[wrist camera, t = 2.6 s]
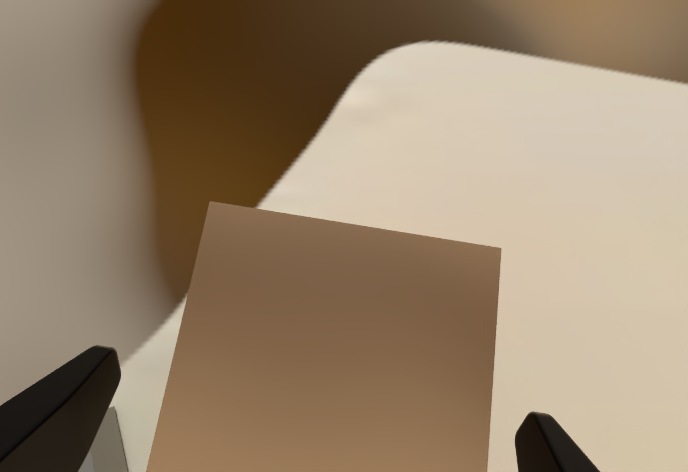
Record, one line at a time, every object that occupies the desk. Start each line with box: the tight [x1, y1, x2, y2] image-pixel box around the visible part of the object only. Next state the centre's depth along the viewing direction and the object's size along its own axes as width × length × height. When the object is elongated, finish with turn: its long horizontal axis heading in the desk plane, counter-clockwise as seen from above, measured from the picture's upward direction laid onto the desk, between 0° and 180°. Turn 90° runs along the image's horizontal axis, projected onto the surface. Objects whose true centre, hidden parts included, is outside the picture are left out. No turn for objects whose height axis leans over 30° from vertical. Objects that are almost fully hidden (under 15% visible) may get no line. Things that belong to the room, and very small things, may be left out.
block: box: [146, 201, 501, 472], centre depth 12 cm, size 4×4×12 cm
